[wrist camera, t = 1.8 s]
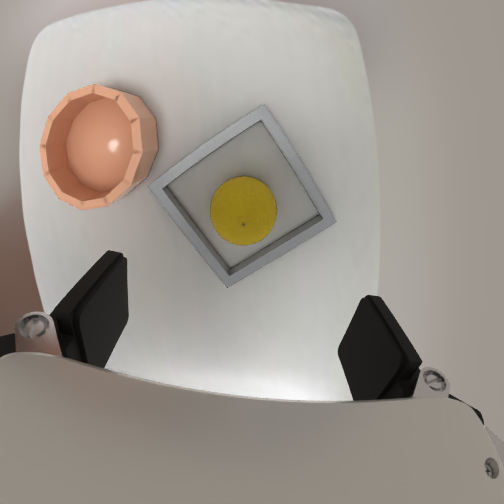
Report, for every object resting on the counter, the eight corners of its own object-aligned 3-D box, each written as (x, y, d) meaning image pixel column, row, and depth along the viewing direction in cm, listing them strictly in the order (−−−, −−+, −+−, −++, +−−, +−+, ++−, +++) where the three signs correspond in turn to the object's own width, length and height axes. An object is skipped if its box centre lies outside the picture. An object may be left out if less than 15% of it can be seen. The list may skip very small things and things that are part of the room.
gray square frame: (332, 217, 28) (337, 221, 27) (227, 280, 31) (227, 288, 29) (263, 106, 24) (264, 104, 22) (152, 183, 26) (147, 186, 25)
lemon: (271, 226, 28) (280, 260, 21) (215, 225, 28) (205, 260, 21) (273, 171, 26) (284, 186, 19) (214, 170, 26) (202, 186, 19)
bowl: (179, 151, 25) (166, 155, 21) (101, 217, 27) (82, 231, 23) (119, 69, 21) (99, 61, 17) (50, 141, 24) (26, 146, 19)
